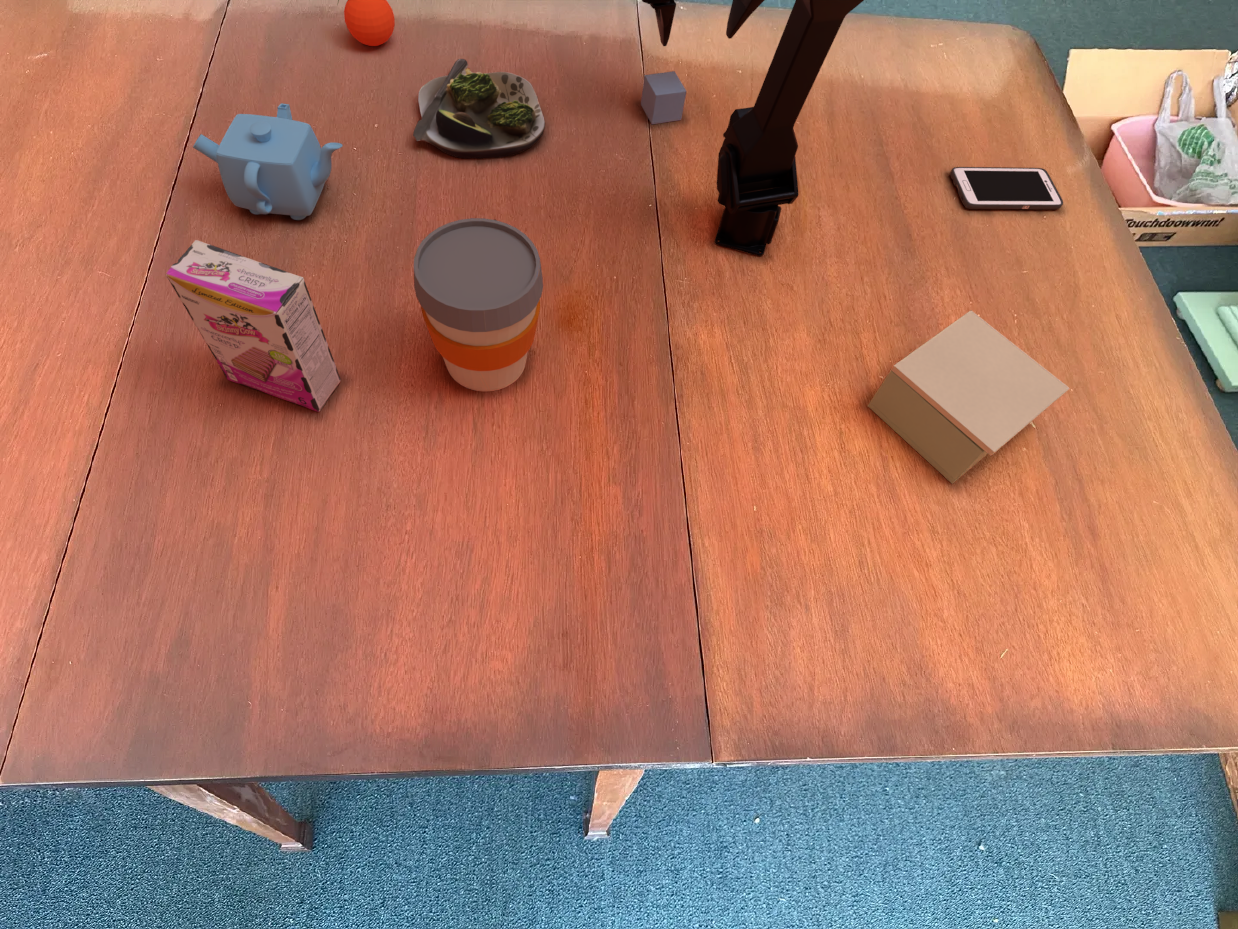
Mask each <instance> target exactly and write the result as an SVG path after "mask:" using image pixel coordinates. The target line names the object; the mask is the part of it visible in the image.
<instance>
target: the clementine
mask: <svg viewBox="0 0 1238 929" xmlns="http://www.w3.org/2000/svg"><path fill="white" fill-rule="evenodd" d="M339 2H340V0H337V4H336V6H338V5H339ZM343 18H344V23H345V26H346V28H347V31H348V32H349V33H350V34H351V36H352V37H353V38H354V39H355V40H356V41H358V42H359V43H360V44H362V45H366V46H369V47H378V46H381V45H383V44H385V43H386V42H388V41H389V40H390V38H391V36H392V35H393V33H394V30H395V26H396V22H395V21H396V20H395V18H396V17H395V13H394V11H393V8H392V7H391V4H390V3H389V2H388V0H347V1H346V2H345V5H344V10H343Z"/></svg>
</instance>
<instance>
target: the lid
mask: <svg viewBox="0 0 1238 929" xmlns="http://www.w3.org/2000/svg"><path fill="white" fill-rule="evenodd" d="M891 370H892V371H893V372H894V373H895V374H896V375H898V376H899V377H900V378H901V379H902V380H903V381H904V382H906V383H907V384H908V385H909V386H910V387H911V388H913V389H914V390H915V391H916V392H917V393H918V394H919V395H921V396H922V397H923V398H924V399H925V400H926V401H928V402H929V403H930V404H931V405H932V406H933V407H935V408H936V409H937V410H938V411H939V412H940V413H941V414H943V415H944V416H945V417H946V418H947V419H948V420H950V421H951V422H952V423H953V424H954V425H955V426H956V427H958V428H959V429H960V430H961V431H962V432H963V433H965V434H966V435H967V436H968V437H969V438H970V439H972V440H973V441H974V442H975V443H976V444H977V445H978V446H980V447H981V448H982V449H983V450H984V451H985V452H987V453H988V454H987V455H988V456H990V457H992V456H993V455H994V454H995V453H997V452H998V451H999V450H1000V449H1001V448H1003V447H1004V446H1005V445H1006V444H1007V443H1008V442H1009V441H1011V440H1012V439H1013V438H1014V437H1016V436H1017V435H1018V434H1019V433H1021V431H1022V430H1024V429H1025V428H1026V427H1027V426H1028V425H1029V424H1031V423H1032V422H1033V421H1034V420H1036V418H1038V417H1039V416H1040V415H1041V414H1043V412H1045V411H1046V410H1047V409H1048V408H1050V407H1052V405H1053V404H1054V403H1055V402H1057V401H1058V400H1059V399H1060V398H1061V397H1062V396H1064V395H1065V394H1066V393H1067V392H1068V391H1069V390H1070V389H1071V388H1070V387H1069V386H1068V385H1067V384H1066V383H1065V382H1063V381H1062V380H1060V379H1059V378H1058V377H1057V376H1055V375H1054V374H1053V373H1052V372H1050V371H1049V370H1048V369H1046V368H1045V367H1044V366H1043V365H1041V364H1040V363H1039V362H1037V360H1035V359H1034V358H1033V357H1031V356H1030V354H1027V353H1026V352H1025V351H1024V350H1022V349H1021V348H1020V347H1018V345H1016V344H1014V343H1013V341H1011V340H1010V339H1009V338H1007V337H1006V336H1005V335H1004V334H1002V333H1001V332H999V330H997V329H996V328H995V327H993V326H992V325H991V324H989V323H988V322H987V321H986V320H985V319H983V318H982V317H981V316H979V315H978V314H977V313H976V312H975V311H973V310H971V309H970V310H969V311H967V312H966V313H964V314H963V315H962V316H960V317H959V318H958V319H956V320H954V321H953V322H952V323H950V324H949V325H948V326H946V327H945V328H944V329H942V330H941V331H940V332H938V333H937V334H935V335H934V336H933V337H931V338H929V339H928V340H927V341H926V342H924V343H923V344H922V345H920V346H918V347H917V348H915V350H913V351H912V352H910V353H909V354H908V355H906V356H905V357H904V358H902V359H901V360H899V361H898V362H896V363H895V364H894V365H892V367H891V369H890V371H891Z"/></svg>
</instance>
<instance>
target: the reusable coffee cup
mask: <svg viewBox="0 0 1238 929" xmlns="http://www.w3.org/2000/svg"><path fill="white" fill-rule="evenodd" d="M539 254H540V253H539V251H538V248H537V247H536V245H535V243H534V242H533V241H532V239H530V237H529V236H528V235H527V234H526V233H524V232H523V231H521V230H520V229H518V228H517V227H515V226H514V225H510V224H509V223H507V222H504V221H500V220H496V219H492V218H491V219H490V218H486V217H485V218H484V217H471V218H462V219H457V220H454V221H450V222H448V223H445V224H443V225H441V226H439V227H437V228H435V229H433V231H431V232H430V233H428V234H427V235H426V236H425V237H424V238H423V239H422V240H421V242H420V244H419V245H418V247H417V248H416V251H415V254H414V257H413V288H414V292H415V298H416V299H417V301H418V303H419V305H420V309H421V315H422V318H423V321H424V323H425V326H426V328H427V331H428V333H429V336H430V338H431V341H432V343H433V345H434V347H435V349H436V351H437V352H438V353H439V355H441V357H442V359H443V361H444V364H445V367H446V369H447V371H448V373H449V375H450V377H451V378H452V379H453V380H454V381H455V382H456V383H458V384H459V385H460V386H462V387H464V388H466V389H469V390H472V391H476V392H493V391H494V392H495V391H499V390H503V389H504V388H507V387H509V386H510V385H512V384H513V383H515V382H516V381H517V380H518V379H519V378H520V377H521V375H522V374H523V372H524V370H525V368H526V364H527V358H528V355H529V351H530V349H531V348H532V345H533V343H534V341H535V336H536V332H537V327H538V322H539V316H540V311H541V298H542V294H543V290H544V279H543V278H544V276H543V271H542V270H543V269H542V263H541V262H542V261H541V257H540V255H539Z"/></svg>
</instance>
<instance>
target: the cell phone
mask: <svg viewBox="0 0 1238 929" xmlns="http://www.w3.org/2000/svg"><path fill="white" fill-rule="evenodd" d="M949 175H950V178H951V181H953V186H954V187H955V188H956V189H957V194H958V197H959V198H960V201H961V203H962V205H963V206H964V207H965V208H966V209H970V210H1059V209H1061V208H1062V206H1063V205H1064V201H1063V197H1062V196H1061V194H1060V193H1059V191H1058V188H1057V187H1056V185H1055V182H1054V181H1053V179H1052V178H1051V175H1050V174H1049V172H1048V171H1047V170H1046V169H1044V168H1043V167H1042V168H1041V167H1018V168H1013V167H1011V166H1010V167H1006V166H1005V167H1003V166H998V167H997V166H953V168H951V170H950V172H949Z"/></svg>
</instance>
